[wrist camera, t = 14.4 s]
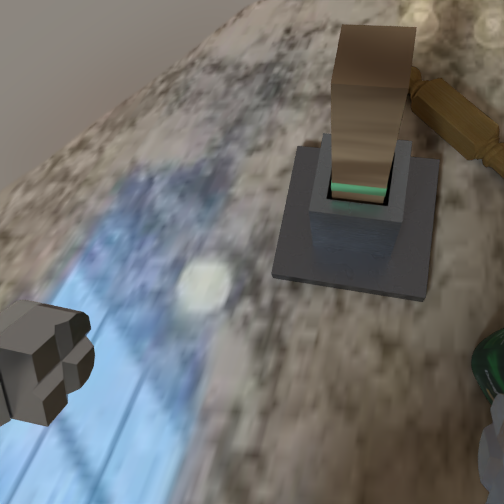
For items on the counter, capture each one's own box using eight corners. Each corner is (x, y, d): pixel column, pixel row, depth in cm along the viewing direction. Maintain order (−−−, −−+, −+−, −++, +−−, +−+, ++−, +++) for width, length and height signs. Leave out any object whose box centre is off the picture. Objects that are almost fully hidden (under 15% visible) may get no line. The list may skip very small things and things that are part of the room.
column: (381, 211, 38) (409, 89, 24) (331, 205, 39) (329, 84, 25) (387, 166, 40) (417, 26, 25) (338, 162, 40) (341, 23, 26)
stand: (422, 301, 43) (445, 271, 34) (273, 278, 46) (258, 244, 37) (436, 167, 47) (460, 109, 38) (298, 153, 50) (290, 96, 41)
